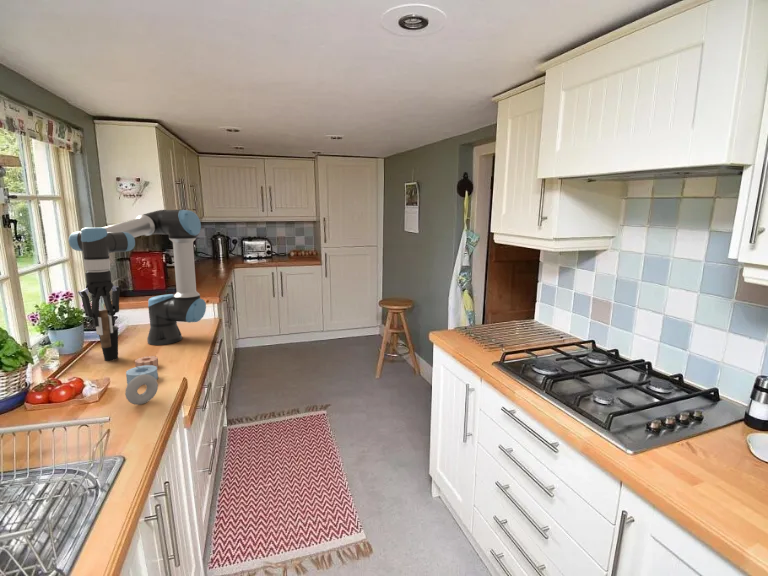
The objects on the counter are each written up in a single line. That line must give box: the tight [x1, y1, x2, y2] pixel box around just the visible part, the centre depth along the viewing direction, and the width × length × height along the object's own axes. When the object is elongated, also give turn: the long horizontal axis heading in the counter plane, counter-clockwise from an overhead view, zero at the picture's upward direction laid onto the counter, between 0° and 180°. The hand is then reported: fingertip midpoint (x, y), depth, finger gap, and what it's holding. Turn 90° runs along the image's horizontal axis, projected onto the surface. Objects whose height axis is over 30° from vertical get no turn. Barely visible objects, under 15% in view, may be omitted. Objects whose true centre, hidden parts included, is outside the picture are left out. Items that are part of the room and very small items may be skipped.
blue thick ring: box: [125, 365, 159, 385], centre depth 151 cm, size 10×10×4 cm
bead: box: [134, 355, 159, 368], centre depth 164 cm, size 8×8×4 cm
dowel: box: [99, 308, 111, 349], centre depth 147 cm, size 3×3×14 cm
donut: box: [124, 374, 159, 406], centre depth 132 cm, size 10×3×10 cm, turn 148°
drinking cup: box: [98, 325, 120, 362], centre depth 171 cm, size 8×8×20 cm
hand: (105, 333), depth 147 cm, fingers closed on dowel, 3 cm apart
